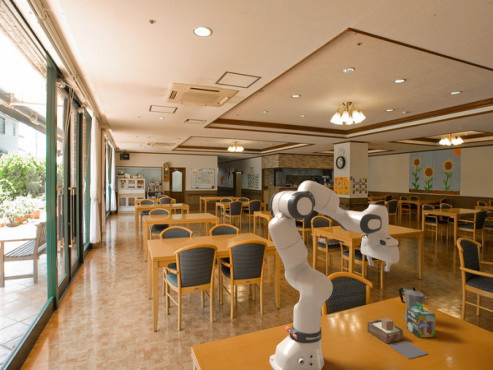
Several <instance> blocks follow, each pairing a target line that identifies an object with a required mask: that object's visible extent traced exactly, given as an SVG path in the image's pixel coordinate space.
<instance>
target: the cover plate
mask: <svg viewBox="0 0 493 370" xmlns="http://www.w3.org/2000/svg"><path fill="white" fill-rule="evenodd" d="M381 319H382V318H381ZM372 324H373V325H375V326H376V327H378V328H380V329H381V330H383V331H384V332H386V333H387V334H392V333H396V332H400V330H399V329H397V328H395V327H393V324H394V321H393V320H392V319H391V318H388V317H386V318H383V319H382V322H377V323H372Z"/></svg>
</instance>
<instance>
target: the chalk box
mask: <svg viewBox="0 0 493 370" xmlns="http://www.w3.org/2000/svg"><path fill="white" fill-rule="evenodd" d="M416 305H417V306H413V307H407V306H406V307H407V321H406V329H407V330H408V331H409V332H410V333H412V335H414V336H415V337H416V338H417V339H419V338H436V333H437V331H436V313H435V312H433V311H432V310H431V309H428V308H427V307H425V306H423V304H422V305H421V304H419V303H418V302H416ZM418 305H419V306H420V307H419V306H418Z"/></svg>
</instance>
